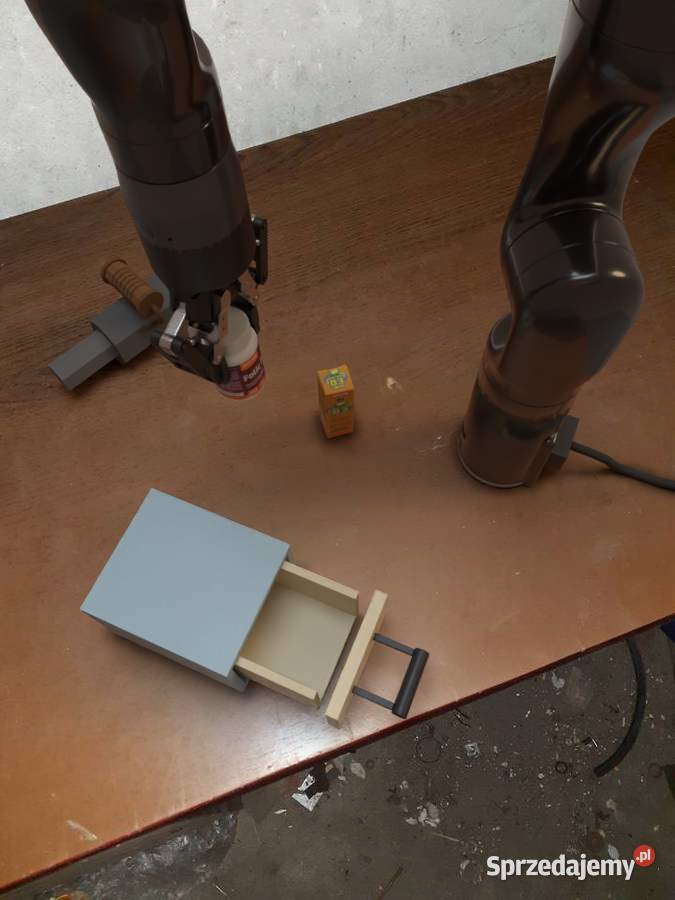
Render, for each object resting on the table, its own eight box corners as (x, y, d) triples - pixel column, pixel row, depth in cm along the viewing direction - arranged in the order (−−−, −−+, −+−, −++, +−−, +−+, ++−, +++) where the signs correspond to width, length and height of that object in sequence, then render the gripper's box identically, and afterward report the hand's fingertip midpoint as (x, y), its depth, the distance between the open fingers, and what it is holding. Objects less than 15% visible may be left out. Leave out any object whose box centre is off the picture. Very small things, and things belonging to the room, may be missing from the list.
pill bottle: (259, 407, 62) (244, 353, 55) (208, 398, 63) (187, 344, 55) (272, 363, 64) (260, 306, 57) (224, 355, 65) (205, 297, 57)
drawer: (435, 636, 67) (443, 617, 60) (392, 753, 63) (396, 747, 56) (262, 564, 71) (252, 538, 64) (210, 669, 66) (193, 654, 59)
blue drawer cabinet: (298, 574, 71) (290, 544, 63) (243, 693, 66) (226, 677, 58) (175, 523, 74) (151, 487, 66) (113, 632, 69) (78, 609, 61)
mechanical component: (45, 367, 84) (7, 316, 75) (159, 286, 89) (136, 229, 80) (93, 418, 80) (59, 370, 71) (208, 330, 86) (190, 275, 77)
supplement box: (327, 441, 78) (323, 395, 69) (319, 416, 80) (314, 367, 71) (355, 434, 78) (354, 387, 70) (347, 409, 80) (345, 360, 71)
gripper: (183, 301, 41) (233, 436, 56) (289, 145, 46) (308, 306, 62) (78, 264, 42) (154, 405, 58) (193, 117, 48) (234, 281, 63)
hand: (233, 353), depth 60 cm, fingers closed on pill bottle, 4 cm apart
